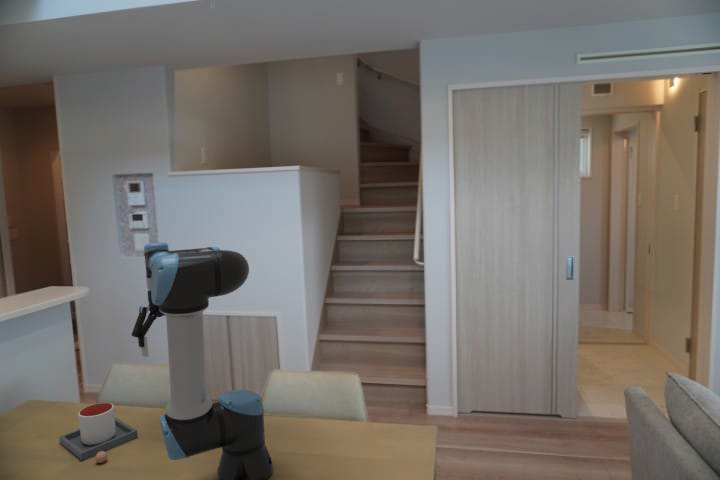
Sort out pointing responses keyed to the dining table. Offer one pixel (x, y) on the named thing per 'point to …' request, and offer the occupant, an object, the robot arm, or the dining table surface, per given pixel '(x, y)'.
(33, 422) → the dining table surface
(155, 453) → the dining table surface
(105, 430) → the cup
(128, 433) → the tray
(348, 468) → the dining table surface
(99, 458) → the ball
